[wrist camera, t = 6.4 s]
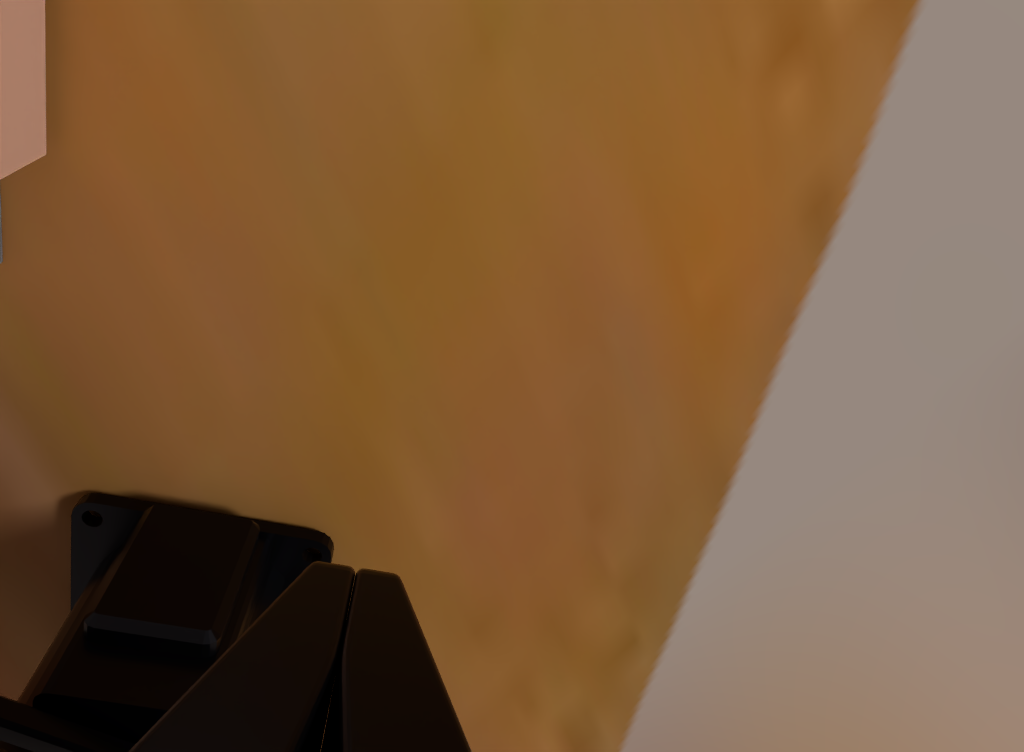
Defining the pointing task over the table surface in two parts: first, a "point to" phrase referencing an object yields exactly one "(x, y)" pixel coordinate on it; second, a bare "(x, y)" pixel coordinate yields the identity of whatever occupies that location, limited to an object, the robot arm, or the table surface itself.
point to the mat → (0, 235)
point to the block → (22, 84)
